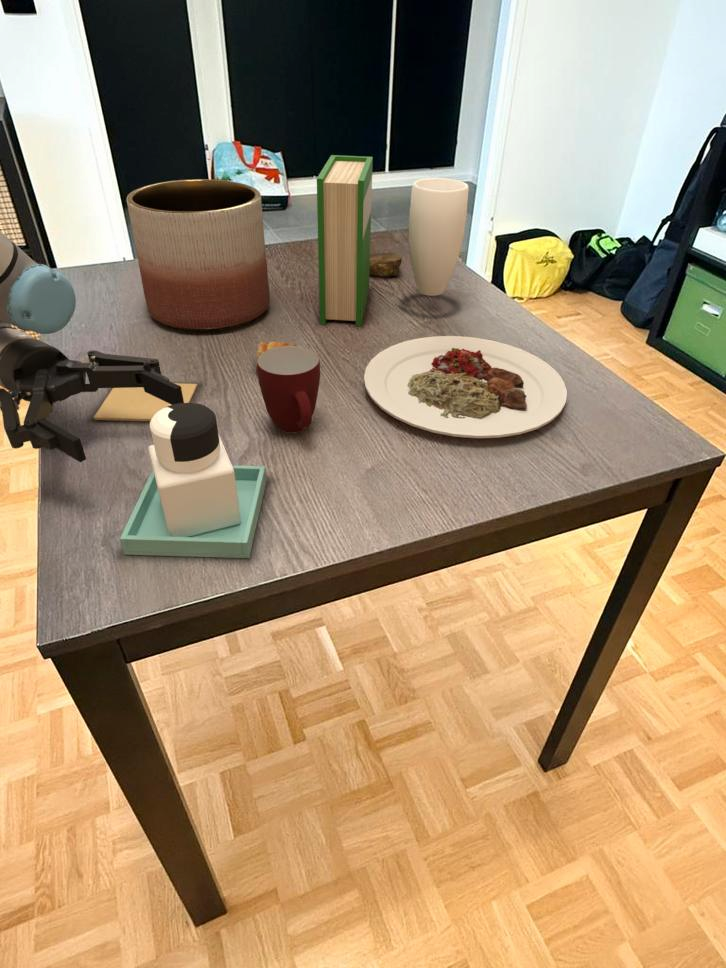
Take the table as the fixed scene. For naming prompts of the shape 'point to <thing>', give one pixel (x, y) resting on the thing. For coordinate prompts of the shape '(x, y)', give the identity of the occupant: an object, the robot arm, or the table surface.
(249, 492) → the tray
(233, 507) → the container
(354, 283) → the hardback book
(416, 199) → the cup
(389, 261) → the decorative stone
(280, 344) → the pastry
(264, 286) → the planter
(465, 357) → the plated food
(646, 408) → the table surface
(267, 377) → the mug
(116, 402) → the mat
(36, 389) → the robot arm
